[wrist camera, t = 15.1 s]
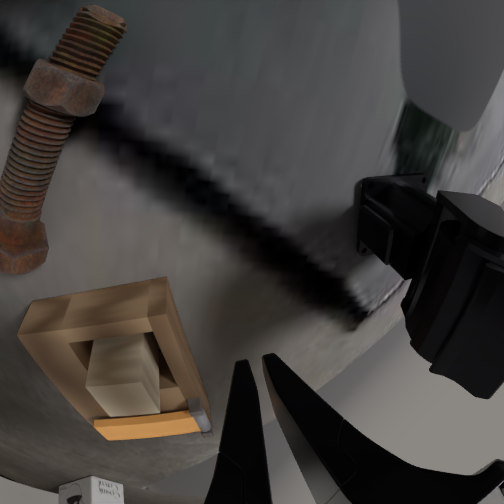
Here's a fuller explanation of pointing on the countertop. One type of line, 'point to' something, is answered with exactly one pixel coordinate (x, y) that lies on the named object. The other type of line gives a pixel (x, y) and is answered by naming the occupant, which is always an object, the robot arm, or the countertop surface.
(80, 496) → the cereal box
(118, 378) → the peg
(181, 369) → the block
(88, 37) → the bolt
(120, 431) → the gate
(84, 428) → the countertop surface
